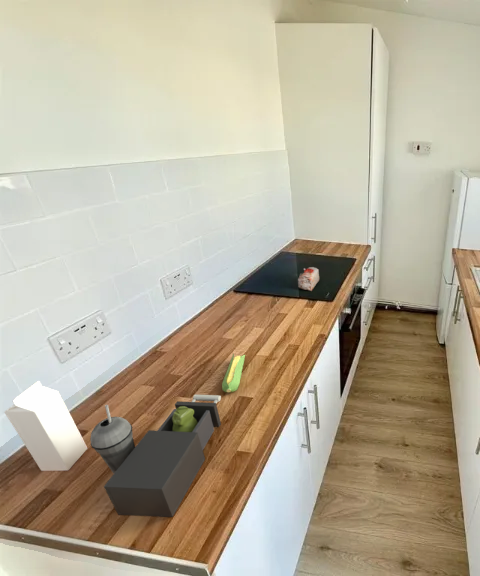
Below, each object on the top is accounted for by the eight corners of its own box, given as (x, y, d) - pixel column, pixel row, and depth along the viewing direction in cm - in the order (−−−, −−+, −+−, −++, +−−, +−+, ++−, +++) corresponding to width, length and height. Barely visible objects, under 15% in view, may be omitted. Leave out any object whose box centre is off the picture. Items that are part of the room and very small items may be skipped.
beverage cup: (112, 461, 78) (83, 399, 70) (148, 451, 81) (125, 390, 72) (103, 489, 72) (70, 425, 64) (142, 477, 75) (115, 415, 66)
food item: (312, 292, 164) (311, 274, 160) (297, 290, 165) (296, 273, 160) (320, 281, 176) (320, 264, 172) (306, 280, 177) (305, 263, 173)
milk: (88, 448, 81) (54, 380, 72) (68, 471, 76) (28, 400, 66) (62, 448, 81) (24, 379, 71) (40, 471, 75) (-4, 400, 66)
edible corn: (220, 398, 98) (218, 386, 96) (233, 357, 115) (231, 346, 113) (238, 396, 99) (236, 384, 97) (248, 355, 116) (247, 345, 114)
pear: (189, 427, 86) (181, 398, 82) (206, 432, 85) (198, 403, 80) (171, 444, 81) (161, 415, 77) (189, 450, 80) (179, 421, 75)
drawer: (193, 407, 93) (188, 387, 90) (229, 409, 93) (225, 388, 90) (154, 464, 77) (145, 441, 74) (196, 466, 77) (190, 443, 74)
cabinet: (158, 457, 80) (148, 430, 76) (205, 459, 80) (197, 432, 76) (118, 515, 68) (103, 486, 64) (172, 517, 68) (161, 489, 64)
